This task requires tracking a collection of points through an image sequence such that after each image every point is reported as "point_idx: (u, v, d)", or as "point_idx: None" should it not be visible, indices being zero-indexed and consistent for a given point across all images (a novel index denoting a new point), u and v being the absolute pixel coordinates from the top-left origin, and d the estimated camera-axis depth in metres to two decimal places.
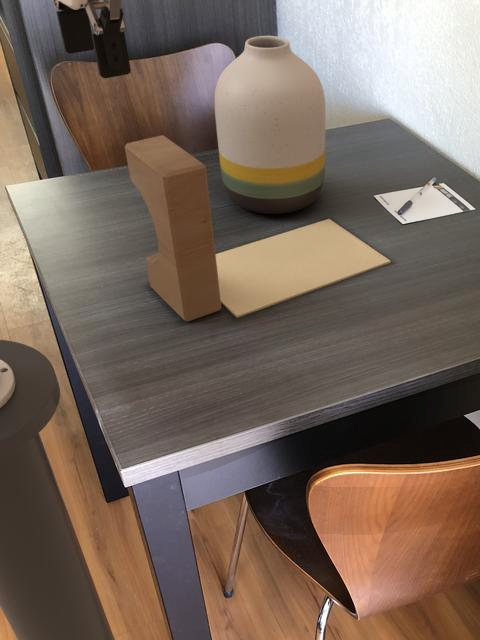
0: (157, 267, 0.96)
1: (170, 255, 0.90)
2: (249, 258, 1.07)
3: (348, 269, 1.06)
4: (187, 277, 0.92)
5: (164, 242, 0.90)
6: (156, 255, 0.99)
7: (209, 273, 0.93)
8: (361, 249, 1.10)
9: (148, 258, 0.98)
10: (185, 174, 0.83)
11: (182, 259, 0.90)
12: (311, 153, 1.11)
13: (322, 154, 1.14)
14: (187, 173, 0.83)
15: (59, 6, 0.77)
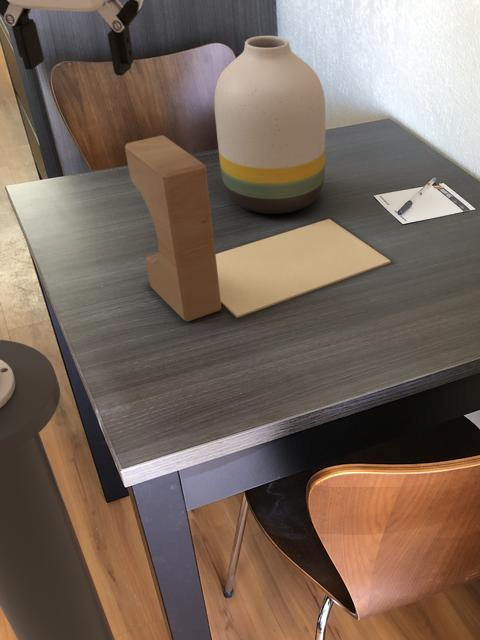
0: (157, 267, 0.96)
1: (170, 255, 0.90)
2: (249, 258, 1.07)
3: (348, 269, 1.06)
4: (187, 277, 0.92)
5: (164, 241, 0.90)
6: (156, 255, 0.99)
7: (209, 273, 0.93)
8: (361, 249, 1.10)
9: (148, 258, 0.98)
10: (185, 174, 0.83)
11: (182, 259, 0.90)
12: (311, 153, 1.11)
13: (322, 154, 1.14)
14: (187, 173, 0.83)
15: (17, 20, 0.73)
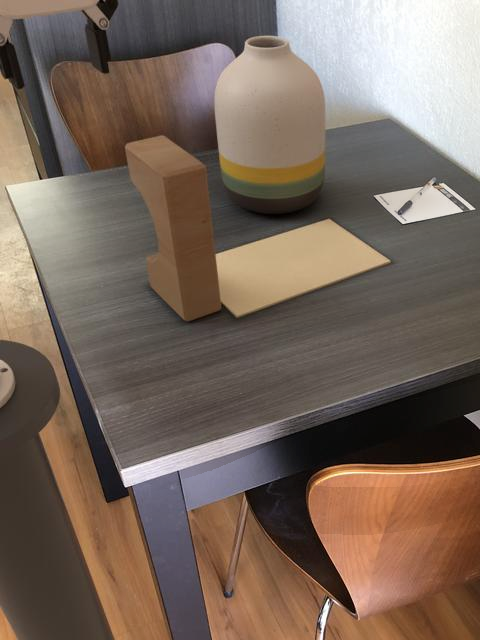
0: (157, 267, 0.96)
1: (170, 255, 0.90)
2: (249, 258, 1.07)
3: (348, 269, 1.06)
4: (187, 277, 0.92)
5: (164, 241, 0.90)
6: (156, 255, 0.99)
7: (209, 273, 0.93)
8: (361, 249, 1.10)
9: (148, 258, 0.98)
10: (185, 174, 0.83)
11: (182, 259, 0.90)
12: (311, 153, 1.11)
13: (322, 154, 1.14)
14: (187, 173, 0.83)
15: (7, 38, 0.69)
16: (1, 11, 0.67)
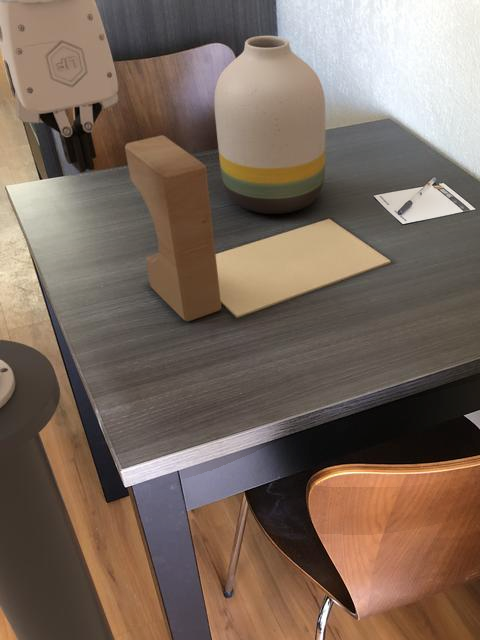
0: (157, 267, 0.96)
1: (170, 255, 0.90)
2: (249, 258, 1.07)
3: (348, 269, 1.06)
4: (187, 277, 0.92)
5: (164, 241, 0.90)
6: (156, 255, 0.99)
7: (209, 273, 0.93)
8: (361, 249, 1.10)
9: (148, 258, 0.98)
10: (185, 174, 0.83)
11: (182, 259, 0.90)
12: (311, 153, 1.11)
13: (322, 154, 1.14)
14: (187, 173, 0.83)
15: (70, 125, 0.77)
16: (29, 108, 0.73)
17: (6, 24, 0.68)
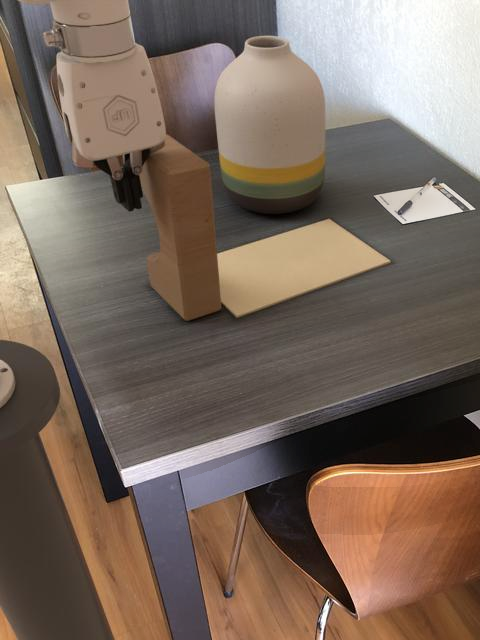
0: (158, 266, 0.96)
1: (172, 253, 0.90)
2: (249, 258, 1.07)
3: (348, 269, 1.06)
4: (188, 276, 0.92)
5: (166, 240, 0.90)
6: (157, 254, 0.99)
7: (210, 273, 0.93)
8: (361, 249, 1.10)
9: (149, 257, 0.98)
10: (190, 172, 0.84)
11: (184, 258, 0.90)
12: (311, 153, 1.11)
13: (322, 154, 1.14)
14: (191, 171, 0.84)
15: (121, 169, 0.83)
16: (86, 156, 0.79)
17: (68, 82, 0.74)
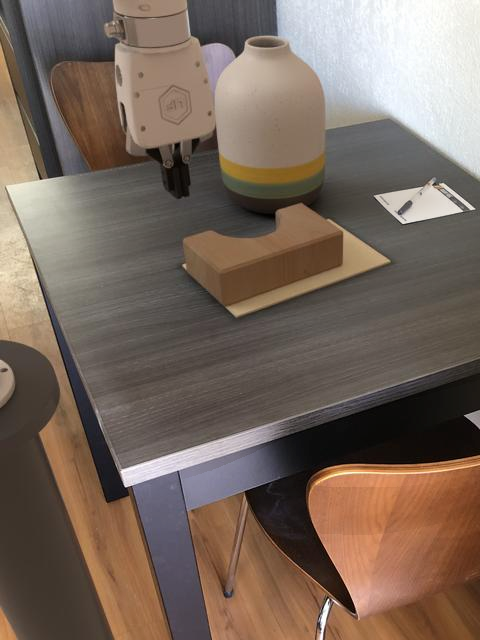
0: (229, 239, 1.00)
1: (273, 246, 0.99)
2: None
3: (348, 269, 1.06)
4: (264, 264, 0.98)
5: (277, 240, 1.00)
6: None
7: (262, 285, 1.00)
8: (361, 249, 1.10)
9: (215, 232, 1.02)
10: (341, 249, 1.04)
11: (280, 257, 0.99)
12: (311, 153, 1.11)
13: (322, 154, 1.14)
14: (341, 250, 1.04)
15: (172, 158, 0.86)
16: (141, 144, 0.81)
17: (127, 72, 0.77)
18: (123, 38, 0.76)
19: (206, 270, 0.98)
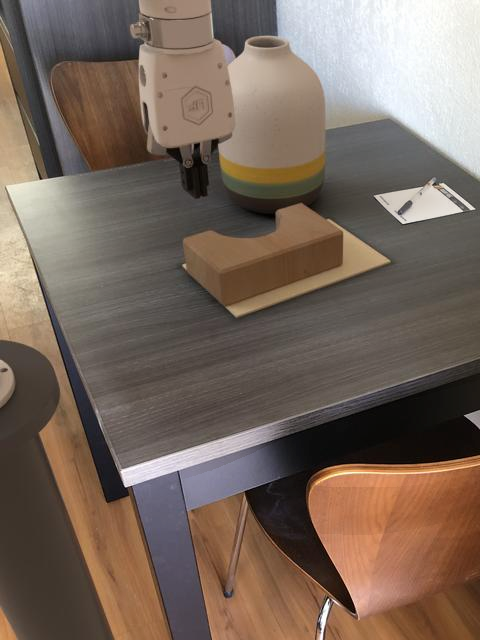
0: (229, 239, 1.00)
1: (273, 246, 0.99)
2: None
3: (348, 269, 1.06)
4: (264, 264, 0.98)
5: (277, 240, 1.00)
6: None
7: (262, 285, 1.00)
8: (361, 249, 1.10)
9: (215, 232, 1.02)
10: (341, 249, 1.04)
11: (280, 257, 0.99)
12: (311, 153, 1.11)
13: (322, 154, 1.14)
14: (341, 250, 1.04)
15: (191, 158, 0.87)
16: (162, 143, 0.83)
17: (151, 72, 0.78)
18: (148, 39, 0.77)
19: (206, 270, 0.98)
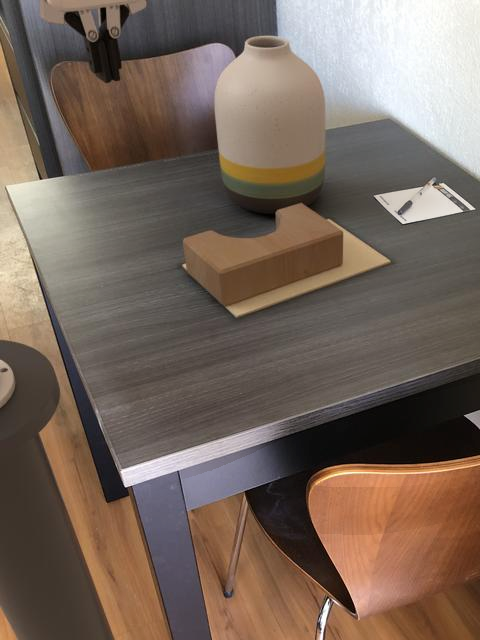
0: (229, 239, 1.00)
1: (273, 246, 0.99)
2: None
3: (348, 269, 1.06)
4: (264, 264, 0.98)
5: (277, 240, 1.00)
6: None
7: (262, 285, 1.00)
8: (361, 249, 1.10)
9: (215, 232, 1.02)
10: (341, 249, 1.04)
11: (280, 257, 0.99)
12: (311, 153, 1.11)
13: (322, 154, 1.14)
14: (341, 250, 1.04)
15: (96, 29, 0.73)
16: (54, 4, 0.69)
17: None
18: None
19: (206, 270, 0.98)
